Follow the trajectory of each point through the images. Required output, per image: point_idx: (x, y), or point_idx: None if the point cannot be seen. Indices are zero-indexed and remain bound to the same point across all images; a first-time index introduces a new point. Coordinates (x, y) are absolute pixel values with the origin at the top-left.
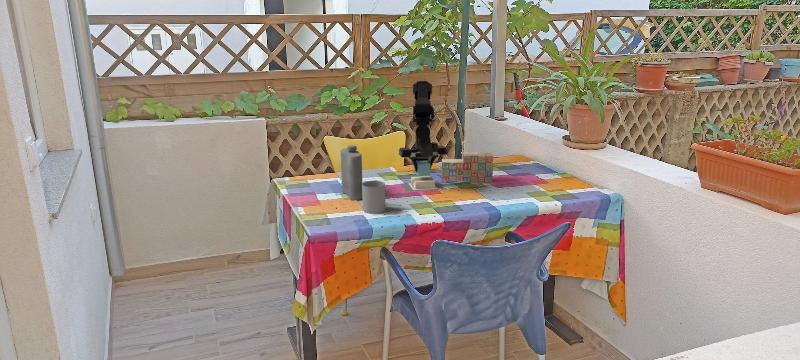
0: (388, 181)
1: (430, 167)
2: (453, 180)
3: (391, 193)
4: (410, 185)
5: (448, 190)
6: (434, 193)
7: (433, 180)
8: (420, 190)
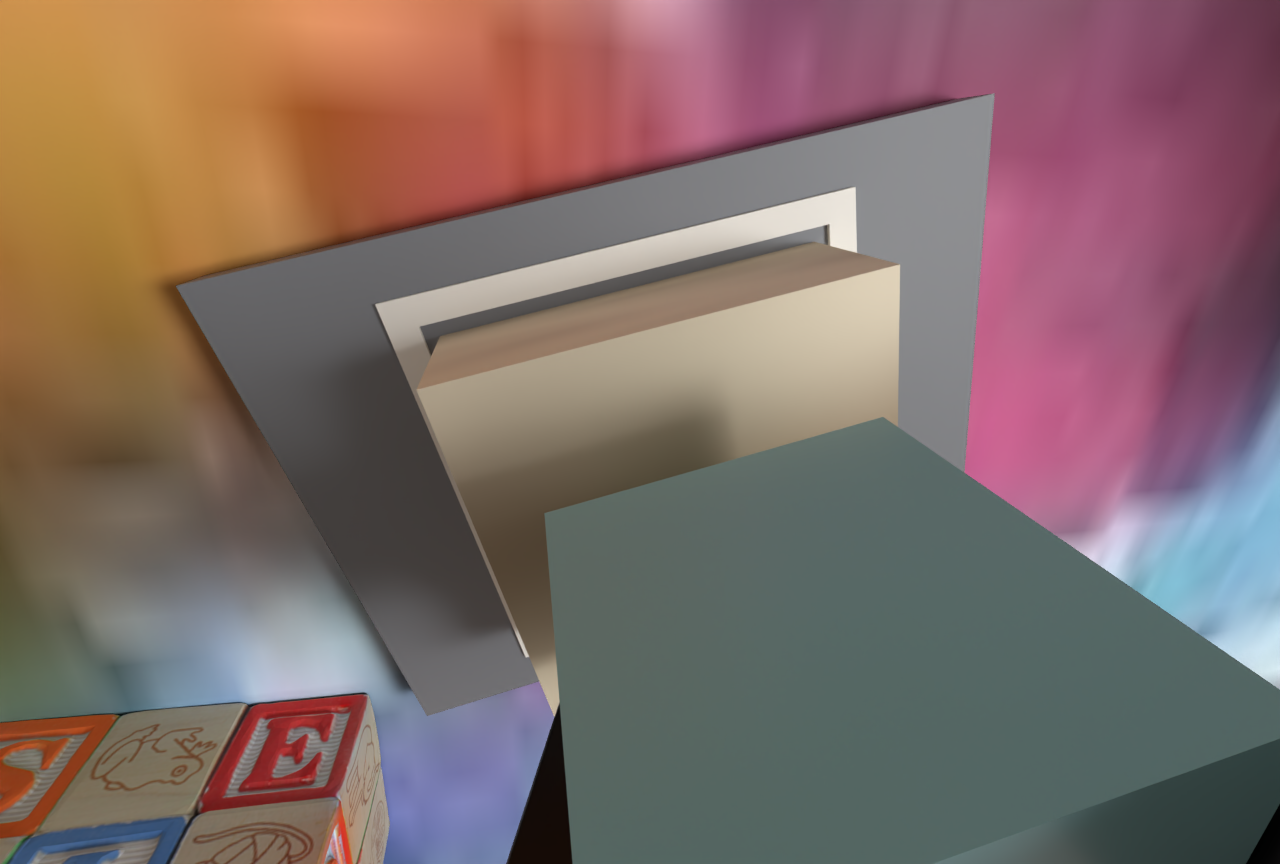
0: None
1: (555, 811)
2: (138, 751)
3: (1167, 160)
4: None
5: (154, 331)
6: (436, 115)
7: (458, 432)
8: (734, 166)
